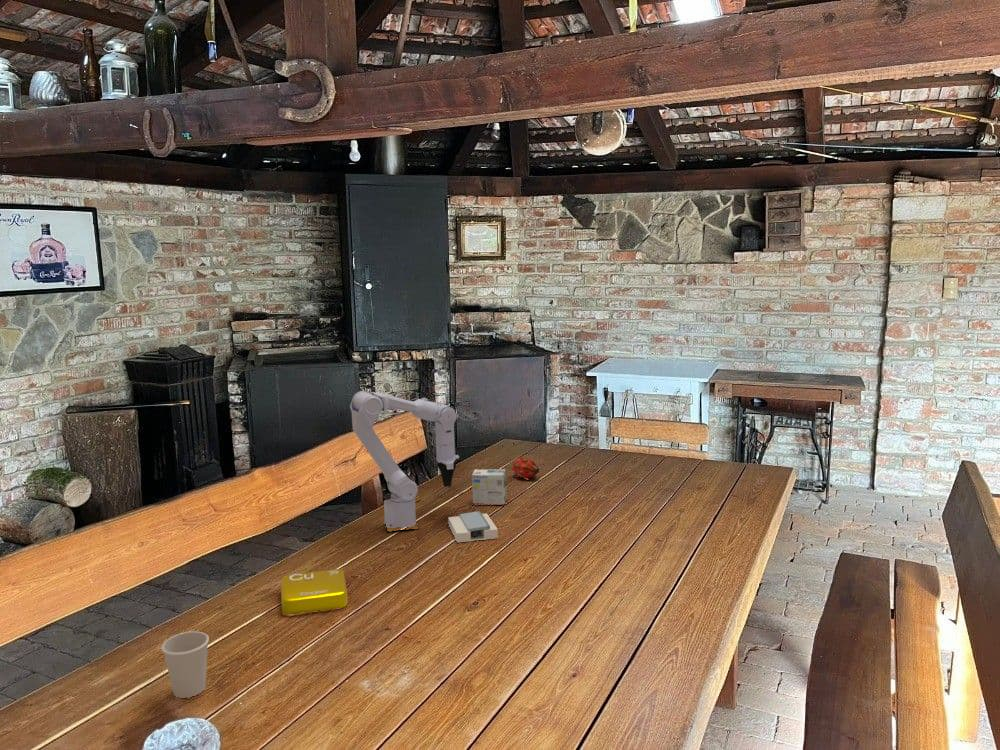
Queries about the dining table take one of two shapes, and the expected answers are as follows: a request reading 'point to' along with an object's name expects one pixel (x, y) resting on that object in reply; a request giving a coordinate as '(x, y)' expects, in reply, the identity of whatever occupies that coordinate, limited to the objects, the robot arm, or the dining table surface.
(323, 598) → the element tile
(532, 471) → the dragon fruit
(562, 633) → the dining table surface
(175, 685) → the dixie cup
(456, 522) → the base
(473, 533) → the dark grey rod
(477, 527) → the duct cover
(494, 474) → the light bulb box
